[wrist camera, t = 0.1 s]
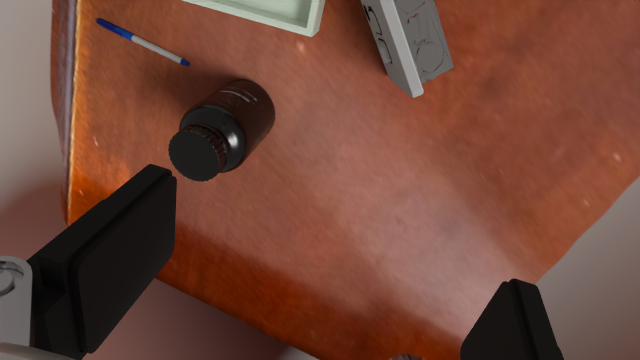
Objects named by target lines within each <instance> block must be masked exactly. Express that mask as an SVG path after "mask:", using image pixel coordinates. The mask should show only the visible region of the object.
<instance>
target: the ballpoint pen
mask: <svg viewBox="0 0 640 360" xmlns="http://www.w3.org/2000/svg"><path fill="white" fill-rule="evenodd" d="M96 23H98V24H99V25H101V26H102V27H104V28H106V29H108V30H110V31H112V32H114V33H116V34H118V35H120V36H122V37H125V38H127V39H129V40H131V41H134V42H136V43H138V44H140V45H142V46H144V47H146V48H148V49H150V50H152V51H155V52H157V53H159V54H161V55H163V56H165V57H167V58H169V59H171V60H173V61H175V62H177V63H179V64H182V65H185V66H189V64H190V63H189V62H187V61H186V60H184V59H183V58H181V57H179V56H177V55H175V54H173V53H171V52H168V51H166V50H164V49H162V48H160V47H158V46H156V45H154V44H152V43H150V42H148V41H146V40H144V39H142V38H140V37H137V36H135V35H134V34H132V33H130V32H128V31H126V30H124V29H122V28H120V27H118V26H116V25H114V24H112V23H110V22H107V21H105V20H102V19H98V20H97V22H96Z"/></svg>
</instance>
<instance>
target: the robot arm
mask: <svg viewBox="0 0 640 360" xmlns="http://www.w3.org/2000/svg"><path fill="white" fill-rule="evenodd" d="M176 188H177V179H176V177H174V176H172V172H171V170H169V169H166V168H163V167H160V166H156V165H153V164H149V165H147V166H146V167H145V168H143V169H142V170H141V171H140V172H139V173H137V174H136V175H135V176H134V177H132V178H131V179H130V180H129V181H127V182H126V183H125V184H124V185H122V186H121V187H120V188H119V189H118V190H116V191H115V192H114V193H113V194H111V195H110V196H109V197H108V198H106V199H105V200H102V201H101V202H99V203H98V204H96V205H95V206H94V207H93V208H91V209H90V210H89V211H88V212H86V213H85V214H84V215H83V216H81V217H80V218H79V219H78V220H76V221H75V222H74V223H73V224H71V225H70V226H69V227H68V228H67V229H66V230H64V231H63V232H62V233H60V234H59V235H58V236H57V237H55V238H54V239H53V240H52V241H50V242H49V243H48V244H47V245H45V246H44V247H43V248H42V249H40V250H39V251H38V252H37V253H35V254H34V255H33V256H32V257H31V258H29V259H28V260H27V261H24V260H22V259H20V258H18V257H11V256H0V360H82V358H83V357H84V356H85V355H86V354H87V353H90V354H91V353H93V352H95V351H96V350H97V349H98V348H99V346H100V345H101V344H102V343H103V341H104V340H105V339H106V338H107V336H108V335H109V334H110V333H111V331H112V330H113V329H114V328H115V326H116V325H117V324H118V323H119V321H120V320H121V319H122V318H123V316H124V315H125V314H126V312H127V311H128V310H129V309H130V307H131V306H132V305H133V304H134V303H135V301H136V300H137V299H138V298H139V296H140V295H141V294H142V293H143V291H144V290H145V289H146V288H147V286H148V285H149V284H150V283H151V281H152V280H153V279H154V278H155V276H156V275H157V274H158V273H159V271H160V270H161V269H162V268H163V266H164V265H165V264H166V263H167V261H168V260H169V259H170V257H171V255H172V253H173V250H174V241H175V215H176ZM460 357H461V360H564V358H563V355H562V353H561V351H560V349H559V347H558V346H557V343H556V340H555V337H554V334H553V331H552V328H551V325H550V322H549V319H548V316H547V313H546V310H545V307H544V304H543V301H542V298H541V295H540V292H539V289H538V287H537V286H536V285H534V284H531V283H527V282H524V281H521V280H518V279H511V280H510V281H509V282H506V281H504V282H502V284H501V285H500V286H499V288H498V290H497V291H496V293H495V294H494V296H493V297H492V299H491V300H490V302H489V303H488V305H487V306H486V308H485V309H484V311H483V312H482V314H481V316H480V317H479V319H478V320H477V322H476V323H475V325H474V326H473V328H472V329H471V331H470V332H469V334H468V335H467V337H466V338H465V340H464V342H463V344H462V347H461V352H460Z"/></svg>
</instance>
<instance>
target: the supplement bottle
mask: <svg viewBox="0 0 640 360" xmlns="http://www.w3.org/2000/svg"><path fill="white" fill-rule="evenodd" d="M274 121H275V109H274V105H273V102H272V100H271V98H270V97H269V95H268V94H267V93H266V91H265V90H264V89H262V88H261V87H260V86H258V85H257V84H255V83H253V82H250V81H246V80H236V81H232V82H230V83H227V84H226V85H224V86H223V87H221V88H220V89H218V90H217V91H215V92H214V93H212V94H211V95H209V96H208V97H206V98H205V99H203V100H202V101H201V102H199V103H198V104H196V105H195V106H193V107H192V108H191V109H189V110H188V111H187V112H186V113H185V114H184V116H183V117H182V119H181V122H180V125H179V132H178V133H176V135H174V136H173V137H172V139H171V140H170V144H169V149H168V151H169V156H170V160H171V161H172V164H173V165H174V166H175V168H176V169H177V170H178V171H179V173H181V174H182V175H183V176H185V177H187V178H188V179H192V180H194V181H195V180H196V181H202V182H203V181H208V180H209V179H212V178H213V177H215V176H216V175H217V174H218V173H225V172H229V171H232V170H234V169H236V168H238V167H239V166H240V165H241V164H242V163H243V162H244V161H245V160H246V159H247V158H248V156H249V155H250V154H251V153H252V152H253V151H254V149H255V148H256V147H257V146H258V145H259V144H260V142H261V141H262V140H263V139H264V138H265V137H266V135H267V134H268V133H269V132H270V130H271V129H272V127H273V124H274Z"/></svg>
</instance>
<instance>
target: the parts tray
mask: <svg viewBox="0 0 640 360" xmlns="http://www.w3.org/2000/svg"><path fill="white" fill-rule="evenodd" d="M183 1H187V2H190V3H194V4H197V5H201V6H204V7H208V8H211V9H215V10H218V11H222V12H225V13H229V14H232V15H236V16H239V17H243V18H246V19H250V20H253V21H257V22H260V23H264V24H267V25H271V26H274V27H278V28H281V29H285V30H288V31H292V32H295V33H299V34H302V35H306V36H309V37H312V36H314V35H315V34H316V33H317V32H318V31H319V28H320V23H321V19H322V14H323V9H324V5H325V0H183Z"/></svg>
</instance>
